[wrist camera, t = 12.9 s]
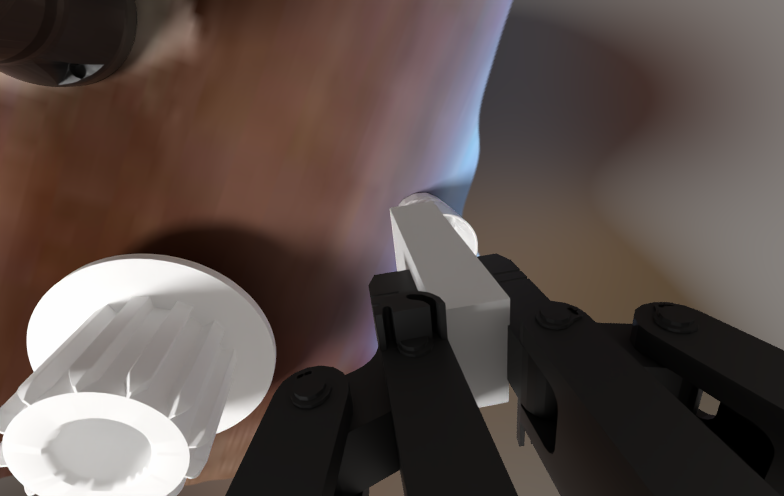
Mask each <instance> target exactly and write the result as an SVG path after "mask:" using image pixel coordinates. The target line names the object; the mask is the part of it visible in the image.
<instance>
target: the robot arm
mask: <svg viewBox="0 0 784 496" xmlns="http://www.w3.org/2000/svg"><path fill="white" fill-rule="evenodd" d="M136 26H137V12H136V3H135V0H0V72H2V73H4V74H6V75H9V76H11V77H14V78H16V79H19V80H22V81H25V82H29V83H33V84H37V85H43V86H51V87H70V86H82V85H88V84H92V83H95V82H98V81H100V80H102V79H104V78H106V77H108V76H109V75H111V74H112V73H113V72H114V71H116V70H117V69H118V68H119V67H120V66H121V65H122V63H123V62H124V61H125V59H126V58H127V56H128V54H129V52H130V50H131V48H132V45H133V42H134V38H135V34H136ZM390 215H391V223H392V231H393V240H394V248H395V256H396V265H397V272H391V273H385V274H379V275H374V277H373V279H372V280H371V282H370V284H369V291H370V298H371V304H372V310H373V317H374V323H375V329H376V335H377V341H378V349H377V352H376V354H375V355H374V357H373V358H372V359H371V360H370V361H369V362H368V363H367V364H365V365H364V366H363V367H361V368H359V369H357V370H355V371H353V372H351V373H349V374H347V375H344V373H343V372H341V371H339V370H338V369H336V368H334V367H328V366H316V367H309V368H306V369H303V370H301V371H299V372H296V373H294V374H293V375H291V376H290V377H289V378H287V379H286V380H285V381H283V382H282V384H281V385H280V386H279V388H278V389H277V390H276V392H275V393H274V395H273V398H272V400H271V402H270V404H269V406H268V408H267V410H266V412H265V414H264V416H263V418H262V420H261V423H260V425H259V427H258V429H257V431H256V433H255V435H254V437H253V439H252V441H251V443H250V445H249V447H248V450H247V452H246V454H245V456H244V458H243V460H242V462H241V464H240V466H239V468H238V470H237V472H236V474H235V477H234V479H233V481H232V483H231V485H230V487H229V489H228V491H227V493H226V495H225V496H369V487H371V486H373V485H374V484H376V483H378V482H379V481H381V480H383V479H385V478H386V477H388V476H390V475H392V474H393V473H395V472H397V471H398V470H400V474H401V479H402V485H403V490H404V496H518V495H517V493H516V490H515V488H514V486H513V484H512V482H511V479H510V477H509V475H508V472H507V470H506V468H505V466H504V463H503V461H502V459H501V457H500V455H499V452H498V450H497V448H496V446H495V443H494V441H493V439H492V437H491V434H490V432H489V430H488V428H487V426H486V423H485V421H484V419H483V417H482V414H481V412H480V410H479V407H484V406H490V405H495V404H499V403H505V402H508V401H509V383H510V385H511V387H512V388H513V390H514V392H515V393H516V395H517V397H518V412H517V440H518V444H519V446H524V437H525V431H526V433H527V435H528V437H529V438H530V440H531V444H533V446H534V448H535V449H536V451H537V453H538V455H539V457H540V459H541V460H542V462H543V464H544V466H545V468H546V470H547V471H548V473H549V475H550V477H551V479H552V481H553V483H554V484H555V486H556V488H557V490H558V492H559V494H560V495H561V496H784V351H783V350H782V349H780V348H777V347H775V346H773V345H771V344H769V343H767V342H765V341H762V340H760V339H758V338H756V337H754V336H752V335H750V334H747V333H745V332H743V331H741V330H739V329H737V328H735V327H732V326H730V325H728V324H726V323H723V322H722V321H720V320H717V319H715V318H713V317H711V316H709V315H707V314H705V313H703V312H700V311H698V310H695V309H692V308H689V307H687V306H684V305H679V304H674V303H669V302H653V303H649V304H644V305H641V306H640V307H638V308H637V309H636V310H635V314H634V319H633V324H617V323H616V324H615V323H597V322H595V321H594V320H592V318H591V317H590V316H588V315H587V314H586V313H585V312H583V311H582V310H580V309H579V308H577V307H575V306H572V305H569V304H566V303H562V302H555V301H550V300H549V299H548V298H547V297H546V296H545V295H544V294H543V293H542V292H541V291H540V290H539V289H538V287H537V286H536V285H535V284H534V283H533V282H531V280H530V279H527V276H526V275H525V274H524V273H523V272H522V271H520V269H519V268H518V267H517V266H516V265H515V264H514V263H513V262H512V261H511V260H509V259H507V258H505V257H503V256H500V255H498V254H491V255H485V256H479V257H476V255H475V254H474V253H473V252H472V250H471V249H470V248H469V247H468V245H467V244H466V243H465V242H464V240H463V239H462V238H461V237H460V235H459V234H458V233H457V232H456V230H455V229H454V228H453V227H452V225H451V224H450V223H449V222H448V220H447V219H446V218H445V217H444V215H443V214H442V213H441V212H440V211H439V209H438V208H437V207H436V206H435V204H434V203H433V202H432V201H431V202H425V203H418V204H411V205H405V206H398V207H392V208H390ZM703 391H704V392H706V393H707V394H709V395H711V396H712V397H714V398H715V399H717V400H719V401H720V405H719V408H718V411H717V414H716V416H715V415H710V414H707V413H705V412H703V411H701V410H700V409H698V407H699V404H700V400H701V397H702V393H703Z"/></svg>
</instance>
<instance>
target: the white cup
mask: <svg viewBox="0 0 784 496" xmlns="http://www.w3.org/2000/svg"><path fill="white" fill-rule="evenodd" d="M431 201H432V202H433V203H434V204H435V206H436V207H437V208H438V209H439V211H440V212H441V213H442V214H443V215H444V217H445V218H446V219H447V220H448V222H449V223H450V224H451V225H452V227H453V228H454V229H455V230H456V232H457V233H458V234H459V235H460V237H461V238H462V239H463V240H464V242H465V243H466V244H467V245H468V247H469V248H470V249H471V250H472V252H473V253H474V254H475V255H477V251H478V240H477V236H476V233H475V231H474V229H473V228H472V226H471V225H470V224H469V223H468V222H467V221H466V220H464V219H463V218H462V217H461V216H460V215H459V214H458V213H457V212H456V211H454V210H453V209H452V208H451V207H449V206H448V205H447V204H446V203H444V202H443V201H441V200H440V199H439V198H438V197H436V196H433V195H431V194H429V193H414V194H412V195H410V196H408V197H407V198H405V199H403V200H402V202H401V203H400V204H399V205H398V206H405V205H411V204H418V203H425V202H431Z"/></svg>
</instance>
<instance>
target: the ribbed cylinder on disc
mask: <svg viewBox="0 0 784 496" xmlns="http://www.w3.org/2000/svg"><path fill="white" fill-rule="evenodd" d="M27 350H28V356H29V360H30V363H31V366H32V369H33V371H34V372H33V373H32V374H31V375H30V376H29V377H28V378H27V379H26V380H25V381H24V382H23V383H22V384H21V385H20V386H19V388H18V391H17V392H16V393H15V394H14V395H13V396H12V397H11V398H10V399H9V400H8V401H7V402H6V403H5V404H4V405H3V406H2V407H1V408H0V433H1V434H4V436H3V441H2V442H1V443H0V467H7V466H8V468H9V470H10V471H11V472H12V474H13V475H14V476H15V477H16V478H17V479H18V481H20V482H21V483H22V484H23V485H24V489H25V492H26V494H27V495H28V496H32V495H35V494H37V495H39V496H176V495H178V494H179V492H180V491H181V490H182V488H183V486H184V483H185V480H186V478H189V479H193V478H196V477H197V476H199V474H200V473H201V471H202V469H203V467H204V466H205V464H206V462H207V460H208V457H209V453H210V450H211V447H212V444H213V441H214V438H215V435H216V434H217V433H219V432H222V431H224V430H226V429H228V428H230V427H232V426H234V425H235V424H237V423H238V422H240V421H241V420H243V419H244V418H245V417H247V416H248V415H249V414H250V413H251V412H252V411H253V410H254V409H255V408H256V407H257V406H258V405H259V404H260V402H261V401H262V399H263V398H264V396H265V395H266V393H267V391H268V389H269V387H270V384H271V382H272V378H273V374H274V369H275V363H276V344H275V339H274V335H273V331H272V329H271V326H270V324H269V322H268V320H267V318H266V316H265V314H264V313H263V311H262V310H261V308H260V307H259V305H258V304H257V303H256V302H255V301H254V299H253V298H252V297H251V296H250V295H249V294H248V293H247V292H246V291H244V290H243V289H242V288H241V287H240V286H238V285H237V284H236V283H235V282H233V281H232V280H230V279H229V278H227V277H226V276H224V275H222V274H220V273H219V272H217V271H215V270H213V269H210V268H208V267H206V266H204V265H201V264H199V263H196V262H193V261H189V260H186V259H182V258H178V257H173V256H167V255H160V254H125V255H118V256H113V257H108V258H104V259H101V260H97V261H95V262H92V263H89V264H87V265H85V266H83V267H80V268H79V269H77V270H75V271H73V272H72V273H70V274H69V275H67V276H66V277H65V278H63V279H62V280H61V281H59V282H58V283H57V284H55V285H54V286H53V287H52V288H51V289H50V290H49V291H48V292H47V293H46V294H45V295H44V296H43V297H42V299H41V300H40V301H39V303H38V304H37V306H36V308H35V309H34V311H33V314H32V316H31V319H30V322H29V325H28V331H27Z"/></svg>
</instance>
